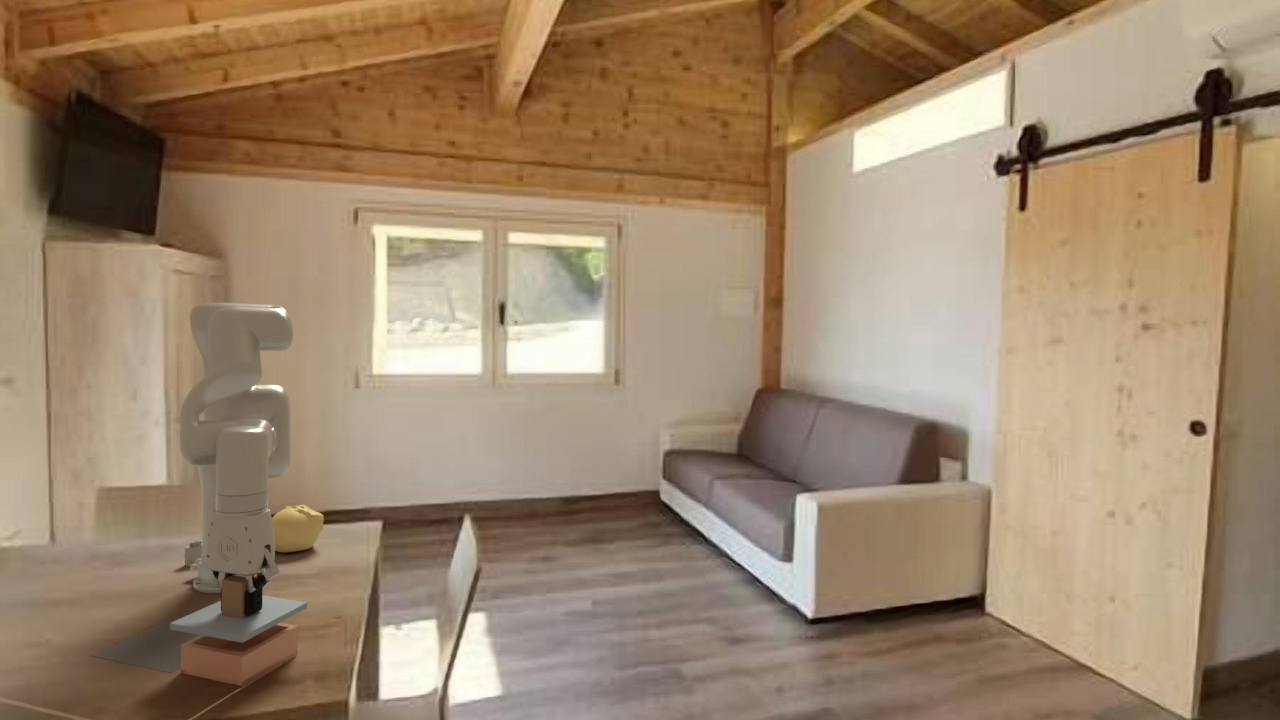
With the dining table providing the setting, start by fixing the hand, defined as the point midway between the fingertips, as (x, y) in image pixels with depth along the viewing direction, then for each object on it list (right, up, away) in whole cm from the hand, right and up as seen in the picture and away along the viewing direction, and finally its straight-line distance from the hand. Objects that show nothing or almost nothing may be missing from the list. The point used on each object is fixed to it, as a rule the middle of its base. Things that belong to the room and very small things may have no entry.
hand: (241, 609), depth 118 cm
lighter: (-35, -5, +46) cm, 58 cm away
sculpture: (-19, -5, +57) cm, 61 cm away
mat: (-15, -8, +7) cm, 19 cm away
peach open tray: (0, -9, +1) cm, 9 cm away
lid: (0, -1, 0) cm, 1 cm away
